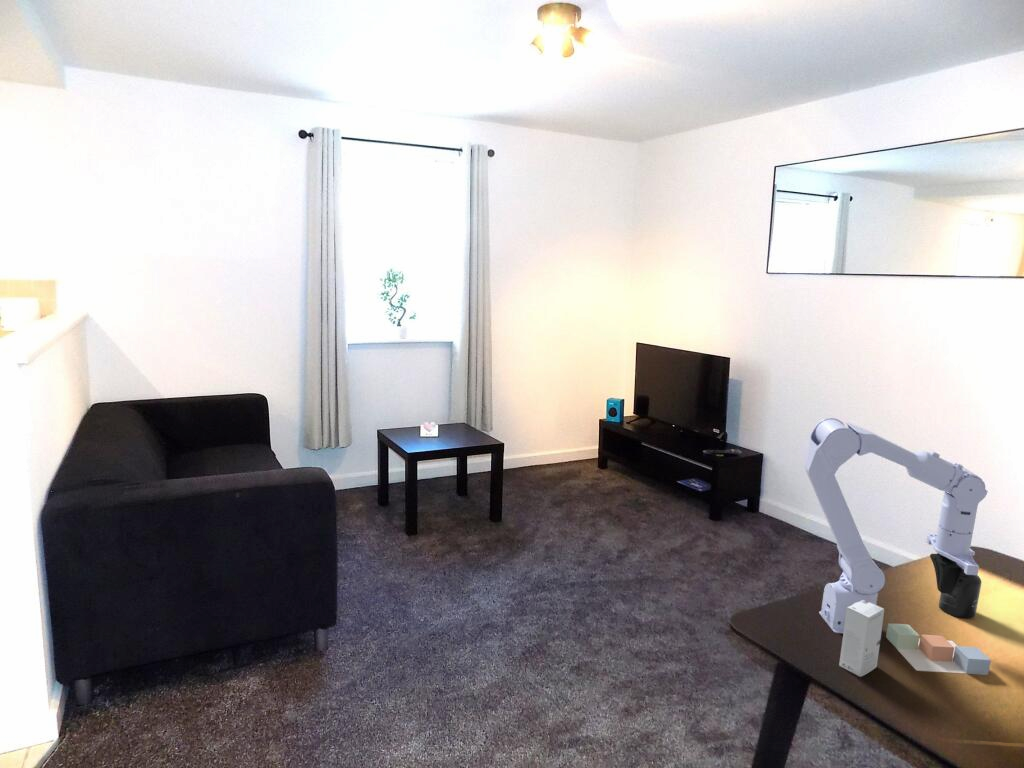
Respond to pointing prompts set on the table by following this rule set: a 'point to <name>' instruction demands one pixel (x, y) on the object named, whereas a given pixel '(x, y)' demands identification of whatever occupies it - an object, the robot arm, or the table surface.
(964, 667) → the slate block
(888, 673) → the table surface
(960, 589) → the supplement bottle
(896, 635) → the sage block
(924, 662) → the felt mat
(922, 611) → the table surface
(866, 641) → the skincare box
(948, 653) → the terracotta block
